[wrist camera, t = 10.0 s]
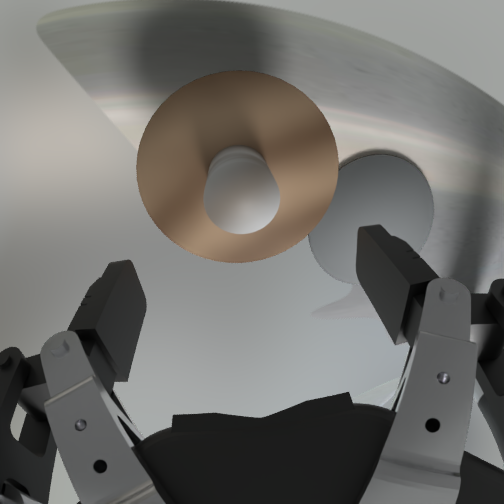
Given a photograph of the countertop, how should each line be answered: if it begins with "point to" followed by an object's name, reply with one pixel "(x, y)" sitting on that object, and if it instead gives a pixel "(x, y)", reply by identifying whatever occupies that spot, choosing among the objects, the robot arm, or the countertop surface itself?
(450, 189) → the countertop surface
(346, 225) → the rubber mat
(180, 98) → the walnut lid
